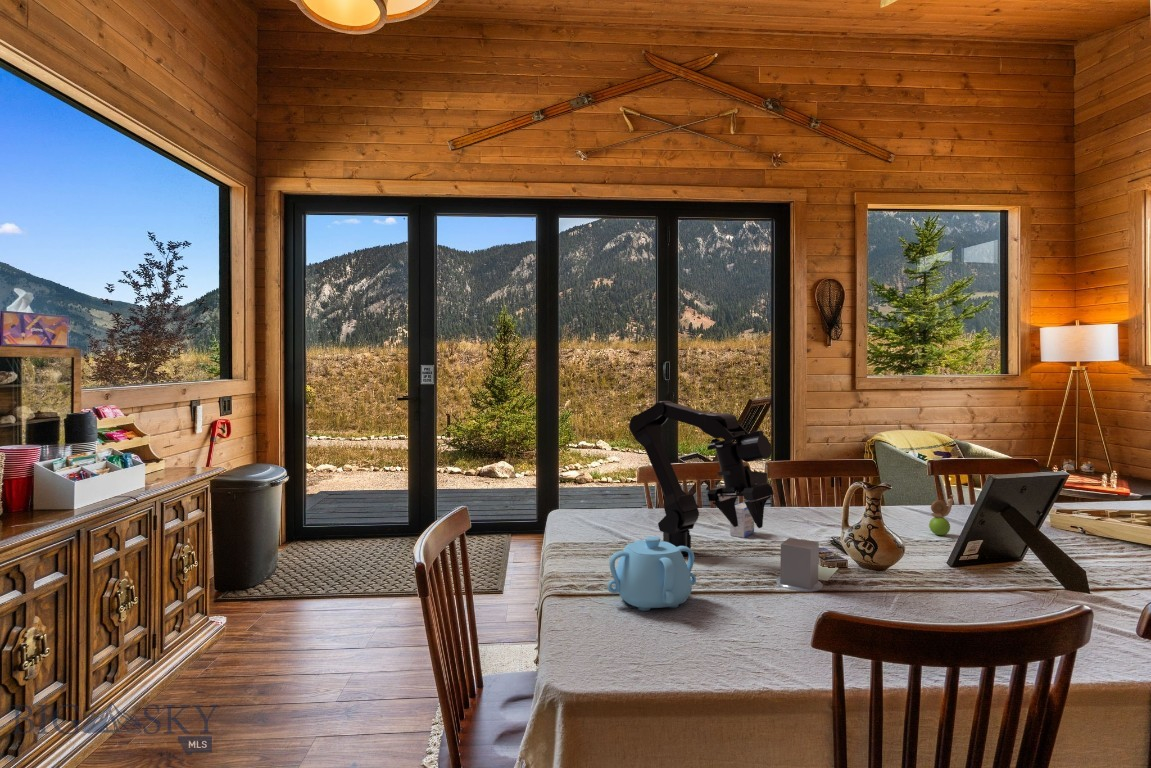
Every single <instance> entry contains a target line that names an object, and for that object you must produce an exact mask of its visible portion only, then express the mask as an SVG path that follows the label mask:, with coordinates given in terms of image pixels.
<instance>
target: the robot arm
mask: <svg viewBox="0 0 1151 768" xmlns="http://www.w3.org/2000/svg"><path fill="white" fill-rule="evenodd" d="M668 419H671V420H674V421H677V422H680V423H683V424H688V425H689V426H690V425H691V426H693V427H696V428H698V429H700V430H701V432H703V433H705V434H706V435H708V436H710V437H711V438H713V439H711V441H710V443H709V445H708V446H707V450H708V451H711V450H715V453H716V457H717V460H718V461H717V462H718V464H719V467H720V468H719V469H720V470H718V471H717V474H718V476H719V477H720V476H721V477H722V480H723V484H724V485H720V486H717V487H713V488H711V489H709V490H708V492H707V498H708V501H709V502H712V505H715V506H716V507H717V509H719V511H720V512H721V513H722V515H724V516H725V518H726V519H727V520H728V521H729V524H730V523H731V524H732V525H733V526H734V527H737V526H738V520H737V514H736V509H735V505H736V502H737V498H738V497H743V499H745V500H746V501H744V503H745V504H746V506H747V508H748V510H749V512H750V514H751V516H752V518H753V520H754V525H756V527H757V528H758V529H762V528H763V525H764V524H763V523H764V512H765V511H764V510H765V505H766V503H767V502H768V500H770V499H771V497H772V496H773V495H774V494H775V493H774V488H773V485H771V484H770V483H768V473H767V472H761V471H754V470H752V469H751V468H750V466H749V464H747V465H745V463H748V462H755V461H761V460H766V459H769V458H771V456H772V450H773V449H772V448H773V447H772V443H771V442H770V441H769V439H768V437H767V436H766V435H765V433H764V430H762V429H761V430H755V431H752V432H750V433H749V432H748V431H747V430H746V429H745V428H744V427H743V426H742V425H741V424H740V423H739V421H738V419H737V416H736V415H734V414H732V413H725V412H724V413H723V412H707V411H702V410H699V409H696V408H693V407H689V406H685V405H682V404H678V403H675V402H672V401H671V400H662V401H660V400H659V401H658V402H655V404H653V405H652V406H651V407H649V408H647V409H645V410H643V411H642V412H640V413H639V414H636V415H632V417H631V419H629V421H630V422H629V424H628V429H629V431H630V433H631V434H632V436H633V438H634V439H635V441H636V442H637V443H638V444H640V446H642V447H643V448H644V450H645V451H646V454H647V457H648V459H649V462H650V464H651V467H652V469H653V472H654V474H655V476H656V478H657V480H658V483H659V485H660V488H661V491H662V494H663V496H664V505H663V508H664V509H663V510H664V514H665V516H664V517H663V518H662V519H660V520H659V522H657V526H658V529H659V532H662V537H663V538H662V539H663V540H662V541H665V542H668V543H671V544H673V545H674V546H676V547H678V546H686V547H688V548H690V549H691V550H692V546H691V545H692V536H691V534H690V533H691V531H690V530H693V529H694V526H695V523H696V522H697V521H698V519H699V516H700V511H699V509H700V506H699V505H698V503H697V502H696V499H695V495H694V494H693V493H686V492H685V491H684V490H683V489H682V487H681V484H680V481H679V479H678V478H677V475H676V472H675V470H674V467H673V465H672V463H671V461H670V458H669V456H668V454H667V451H666V449H665V447H664V445H663V442H662V439H663V438H662V437H663V429H662V426H663V425H664V424H665V423H667V420H668ZM720 439H722V440H720ZM734 440H735V442H734ZM681 553H682V555H683V557H686V556H687V557H688V556H689V554H688V552H686V551H681Z"/></svg>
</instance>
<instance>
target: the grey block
mask: <svg viewBox="0 0 1151 768" xmlns="http://www.w3.org/2000/svg"><path fill="white" fill-rule="evenodd" d="M819 546H820V542H819V541H812V540H807V539H799V538H793V537H789V538H787V539H786V540H785V541H783V542H782V543H780V566H779V568H780V569H779V574H780V575H779V577H780V584H785V585H790V586H794V587H799V588H804V589H809V590H810V589H811V588H812V587H813V586H814V585H815V584H816V583H817V582H818V581H819V579H818V564H819V556H820V554H819V551H820V550H819V548H820V547H819Z"/></svg>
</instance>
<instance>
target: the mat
mask: <svg viewBox="0 0 1151 768" xmlns="http://www.w3.org/2000/svg"><path fill="white" fill-rule="evenodd" d="M820 565H821V564H819V563H818V580H822V581H827V582H828V581H829V580H830V578H832V576H833V575H834V574H835V573H836V571H837V570H839V567H835V568H828V567H822V566H820Z"/></svg>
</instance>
